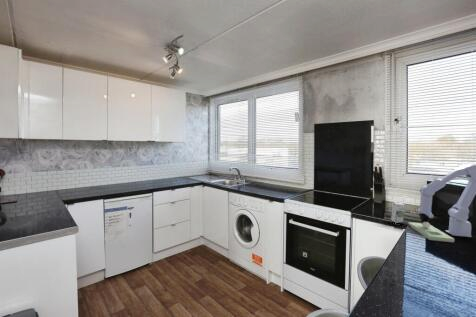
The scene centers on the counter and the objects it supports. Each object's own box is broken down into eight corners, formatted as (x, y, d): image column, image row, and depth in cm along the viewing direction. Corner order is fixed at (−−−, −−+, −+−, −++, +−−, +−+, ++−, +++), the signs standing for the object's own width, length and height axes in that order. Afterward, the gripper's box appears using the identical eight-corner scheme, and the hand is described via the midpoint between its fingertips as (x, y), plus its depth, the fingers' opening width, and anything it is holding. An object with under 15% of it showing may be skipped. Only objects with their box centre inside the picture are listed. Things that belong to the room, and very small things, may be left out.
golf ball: (427, 225, 147) (428, 220, 146) (431, 229, 144) (432, 224, 142) (420, 225, 149) (421, 220, 147) (423, 229, 145) (424, 224, 144)
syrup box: (398, 222, 163) (399, 202, 162) (404, 224, 157) (405, 204, 156) (390, 221, 163) (391, 201, 162) (395, 224, 157) (396, 203, 157)
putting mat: (428, 226, 153) (428, 223, 153) (454, 242, 128) (454, 238, 128) (408, 224, 157) (408, 222, 156) (429, 239, 131) (429, 236, 131)
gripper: (413, 201, 155) (411, 220, 155) (424, 207, 141) (422, 228, 142) (425, 202, 153) (423, 222, 154) (438, 208, 139) (436, 229, 140)
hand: (424, 225), depth 147 cm, fingers closed, pressing on golf ball
